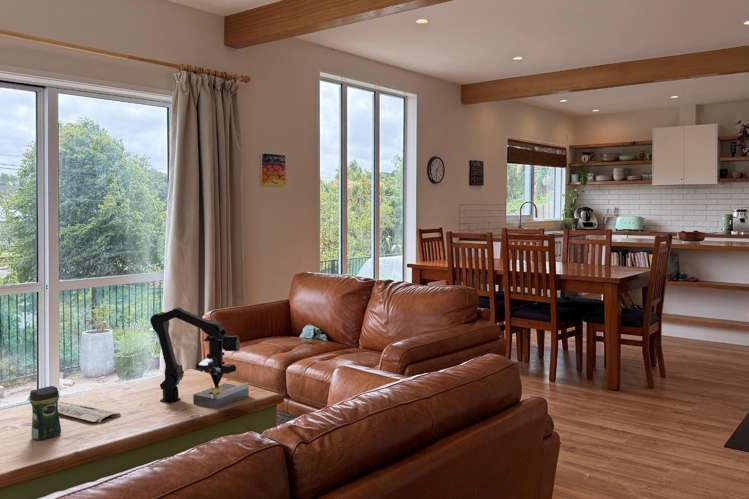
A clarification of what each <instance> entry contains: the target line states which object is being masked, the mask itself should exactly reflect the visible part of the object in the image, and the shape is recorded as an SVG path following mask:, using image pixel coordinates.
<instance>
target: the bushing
mask: <svg viewBox="0 0 749 499" xmlns="http://www.w3.org/2000/svg"><path fill="white" fill-rule="evenodd" d="M211 389H212V394H213V395H215V394H216V393H219V392H222V384H218V386H215V385H214V384H213V385H211Z"/></svg>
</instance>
